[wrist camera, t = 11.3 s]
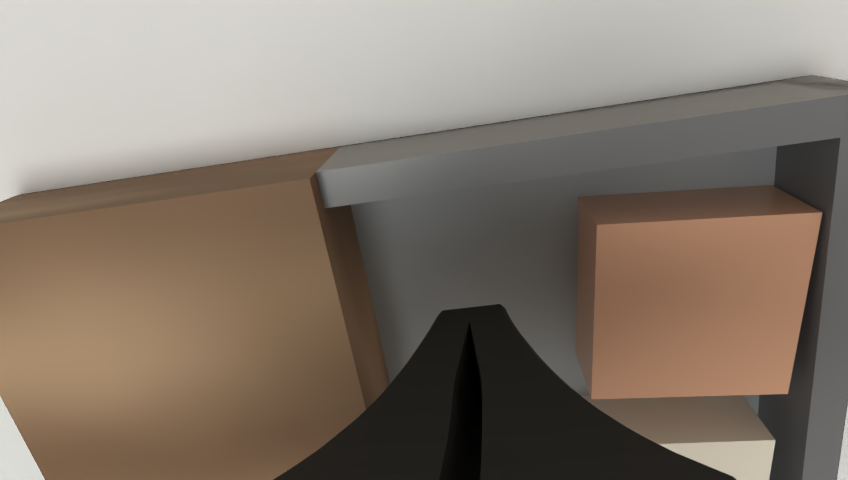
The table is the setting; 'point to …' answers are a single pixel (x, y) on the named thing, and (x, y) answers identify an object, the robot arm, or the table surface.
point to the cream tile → (700, 430)
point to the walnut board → (185, 323)
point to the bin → (558, 225)
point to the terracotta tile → (692, 291)
